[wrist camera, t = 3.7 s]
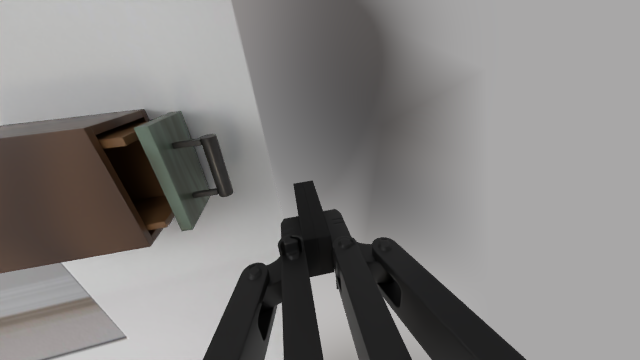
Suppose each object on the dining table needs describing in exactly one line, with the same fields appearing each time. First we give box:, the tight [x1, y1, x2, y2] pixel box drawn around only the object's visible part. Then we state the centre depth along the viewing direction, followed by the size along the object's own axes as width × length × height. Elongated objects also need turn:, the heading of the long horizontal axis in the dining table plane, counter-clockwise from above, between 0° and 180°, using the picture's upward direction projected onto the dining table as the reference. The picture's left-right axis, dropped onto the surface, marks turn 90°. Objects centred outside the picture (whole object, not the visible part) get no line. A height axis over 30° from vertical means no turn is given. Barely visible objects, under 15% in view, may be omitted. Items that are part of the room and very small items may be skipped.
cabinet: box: [0, 109, 163, 273], centre depth 25 cm, size 15×13×10 cm
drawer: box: [95, 111, 233, 231], centre depth 25 cm, size 18×11×8 cm, turn 95°
